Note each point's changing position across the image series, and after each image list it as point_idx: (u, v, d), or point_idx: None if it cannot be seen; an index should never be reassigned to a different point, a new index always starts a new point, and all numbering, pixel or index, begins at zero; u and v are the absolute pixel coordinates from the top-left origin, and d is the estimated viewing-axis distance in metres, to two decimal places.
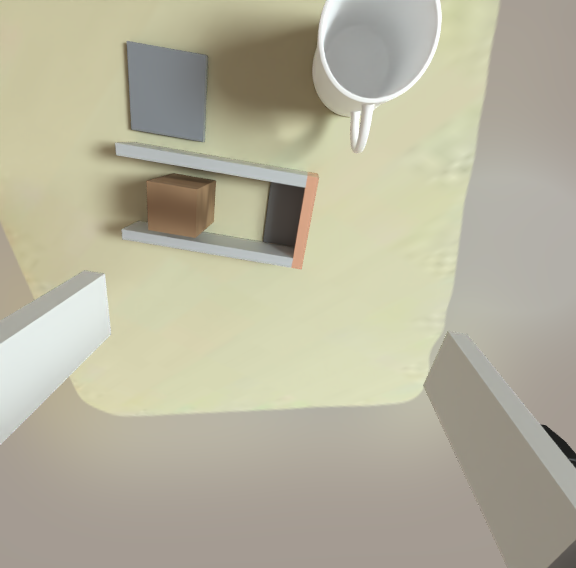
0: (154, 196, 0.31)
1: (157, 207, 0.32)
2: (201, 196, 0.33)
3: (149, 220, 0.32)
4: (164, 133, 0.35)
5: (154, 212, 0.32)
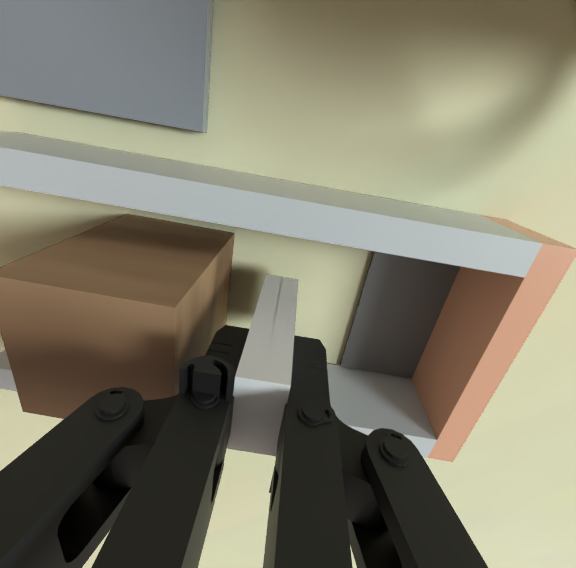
0: (23, 324, 0.09)
1: (41, 357, 0.09)
2: (195, 308, 0.10)
3: (21, 388, 0.10)
4: (91, 107, 0.12)
5: (33, 368, 0.09)
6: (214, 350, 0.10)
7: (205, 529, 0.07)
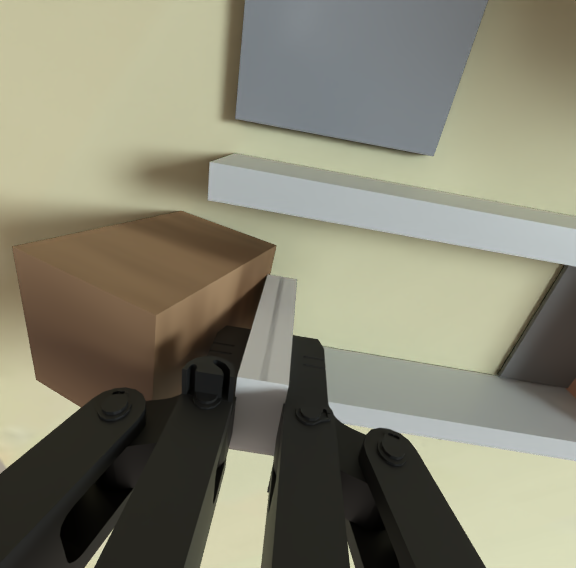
0: (37, 299, 0.09)
1: (49, 333, 0.10)
2: (196, 318, 0.09)
3: (35, 358, 0.10)
4: (328, 131, 0.12)
5: (43, 343, 0.10)
6: (216, 350, 0.10)
7: (207, 530, 0.07)
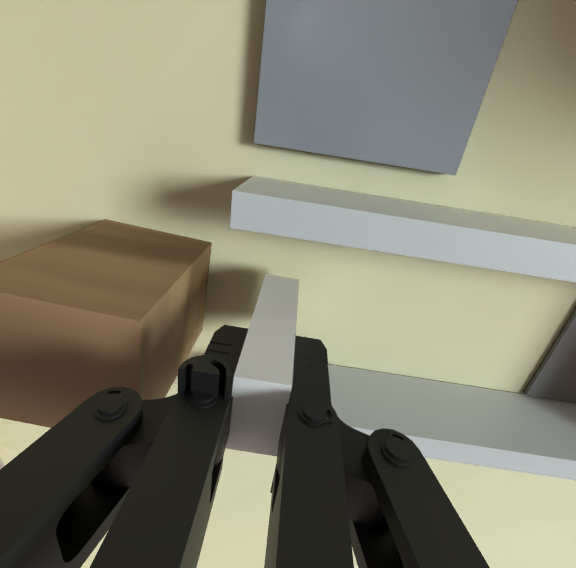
0: None
1: (7, 363, 0.09)
2: (164, 319, 0.10)
3: None
4: (348, 153, 0.12)
5: None
6: (213, 350, 0.10)
7: (204, 529, 0.07)
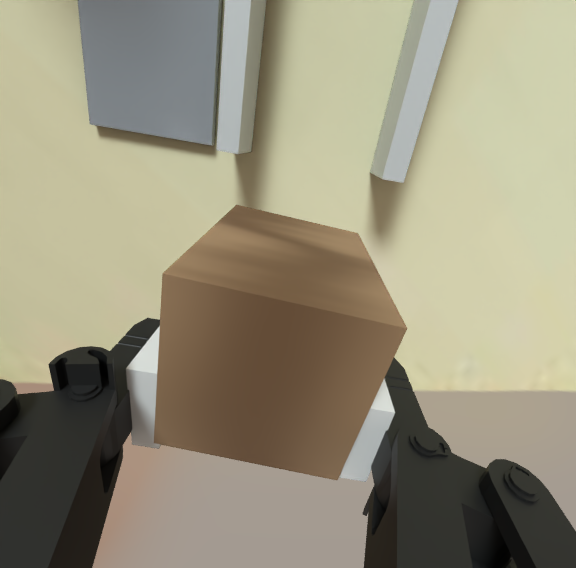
0: (210, 435, 0.08)
1: (253, 435, 0.08)
2: (231, 255, 0.08)
3: (301, 468, 0.08)
4: (212, 78, 0.19)
5: (270, 448, 0.08)
6: (125, 343, 0.09)
7: (100, 520, 0.07)
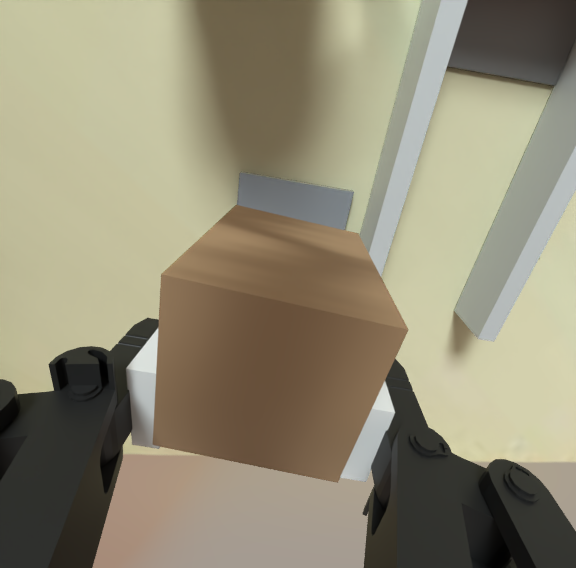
0: (209, 437, 0.08)
1: (253, 437, 0.08)
2: (230, 256, 0.08)
3: (301, 470, 0.08)
4: None
5: (270, 450, 0.08)
6: (125, 343, 0.09)
7: (100, 520, 0.07)
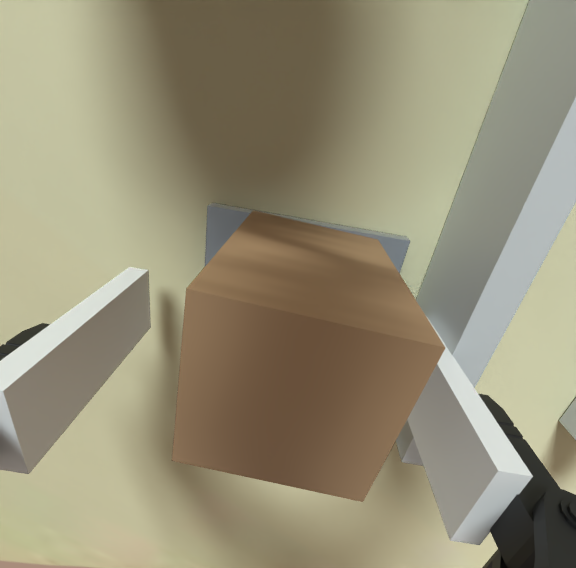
0: (230, 454, 0.08)
1: (276, 454, 0.08)
2: (253, 266, 0.07)
3: (325, 489, 0.08)
4: None
5: (294, 468, 0.08)
6: (1, 352, 0.08)
7: None
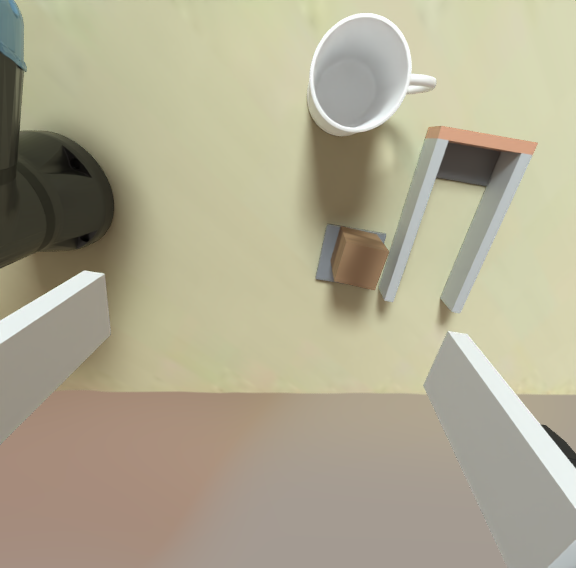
0: (347, 278, 0.37)
1: (357, 277, 0.37)
2: (352, 239, 0.37)
3: (366, 287, 0.38)
4: None
5: (360, 281, 0.37)
6: None
7: None
